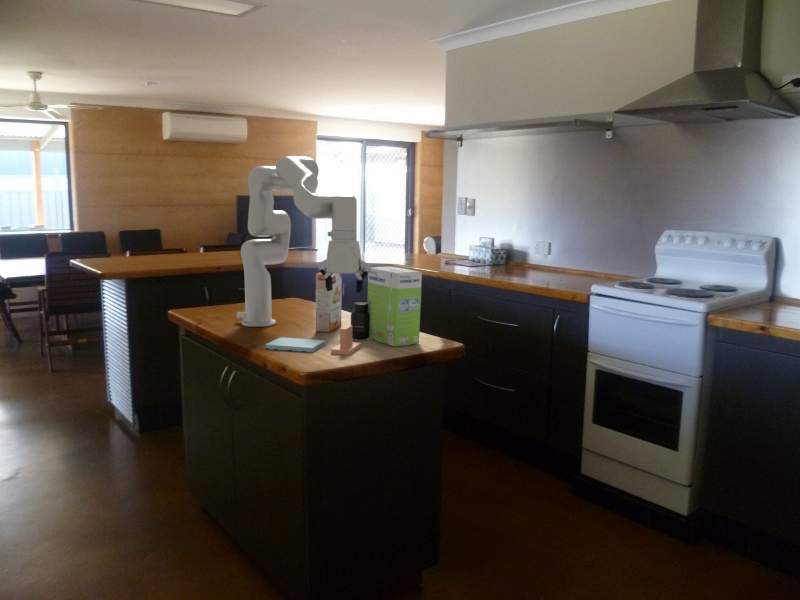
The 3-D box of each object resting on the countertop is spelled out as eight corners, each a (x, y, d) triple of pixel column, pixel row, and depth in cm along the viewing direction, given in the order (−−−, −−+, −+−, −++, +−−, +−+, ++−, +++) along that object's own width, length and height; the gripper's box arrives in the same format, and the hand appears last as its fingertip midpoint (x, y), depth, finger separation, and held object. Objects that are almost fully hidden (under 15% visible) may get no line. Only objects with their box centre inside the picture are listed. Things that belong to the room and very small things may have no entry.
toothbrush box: (421, 343, 213) (422, 270, 209) (395, 347, 207) (396, 272, 203) (391, 334, 227) (391, 265, 223) (365, 337, 221) (365, 267, 217)
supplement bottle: (356, 340, 217) (355, 305, 215) (347, 336, 223) (347, 302, 221) (374, 338, 220) (374, 303, 218) (365, 334, 226) (365, 300, 224)
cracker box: (331, 333, 229) (330, 274, 225) (315, 332, 230) (314, 273, 227) (342, 325, 242) (342, 269, 239) (327, 324, 243) (326, 269, 240)
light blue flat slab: (265, 348, 204) (265, 344, 204) (280, 341, 215) (280, 337, 214) (313, 352, 200) (312, 347, 200) (325, 344, 211) (325, 340, 210)
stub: (331, 353, 199) (331, 330, 198) (343, 345, 209) (343, 323, 208) (349, 355, 197) (349, 331, 196) (360, 347, 208) (360, 324, 207)
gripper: (313, 236, 197) (313, 291, 200) (367, 237, 193) (367, 294, 195) (322, 234, 204) (322, 288, 207) (374, 236, 200) (374, 291, 203)
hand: (344, 291), depth 201 cm, fingers open, 9 cm apart
